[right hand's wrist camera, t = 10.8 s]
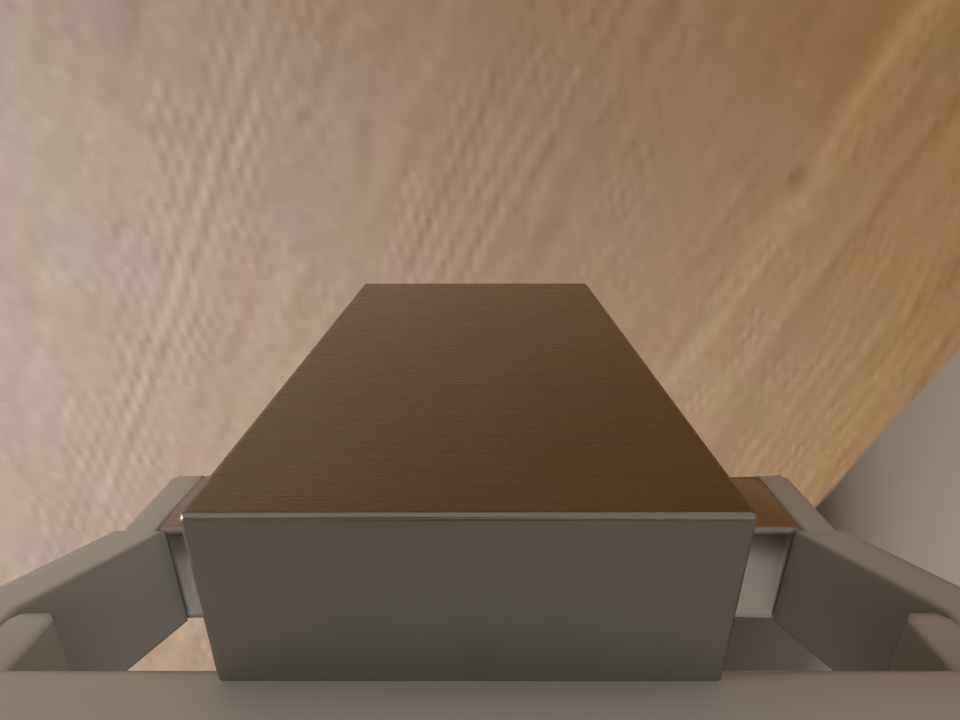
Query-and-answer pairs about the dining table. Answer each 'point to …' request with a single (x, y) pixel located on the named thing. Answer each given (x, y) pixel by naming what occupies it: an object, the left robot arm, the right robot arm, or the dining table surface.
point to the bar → (470, 505)
